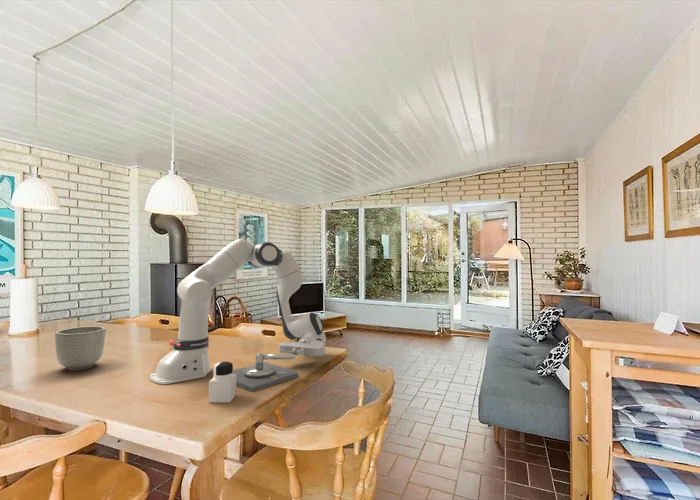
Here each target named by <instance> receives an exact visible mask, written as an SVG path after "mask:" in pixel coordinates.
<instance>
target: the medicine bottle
mask: <svg viewBox="0 0 700 500" xmlns="http://www.w3.org/2000/svg"><path fill="white" fill-rule="evenodd" d="M233 368H234V367H233V363H232V362H230V361H219V362H216V363H215V364H214V365H213V377H212V378H211V379H210V380H209V381H208V403H209V404H210V403H211V404H212V403H214V404H215V403H216V404H217V403H223V404H227V403H228V404H230V403H231V402H232V400H233V399H234V398H235V396H236V395H237V385H236V374H233V370H234V369H233Z"/></svg>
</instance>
